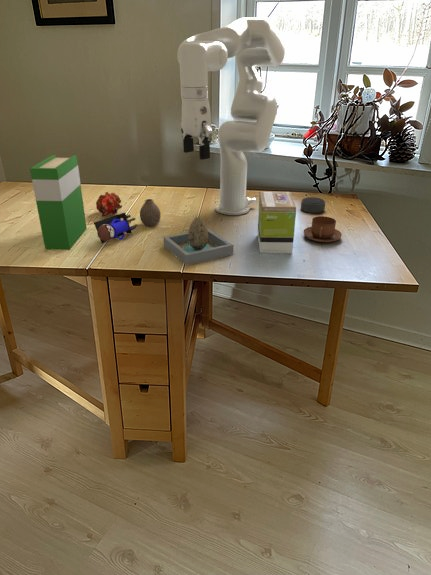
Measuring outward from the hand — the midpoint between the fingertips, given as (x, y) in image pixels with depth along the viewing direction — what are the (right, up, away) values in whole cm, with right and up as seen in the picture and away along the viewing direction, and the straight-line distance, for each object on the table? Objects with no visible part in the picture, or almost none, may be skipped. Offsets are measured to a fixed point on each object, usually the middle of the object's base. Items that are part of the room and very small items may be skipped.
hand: (196, 155), depth 131 cm
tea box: (+24, -26, +5) cm, 36 cm away
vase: (-17, -18, +19) cm, 31 cm away
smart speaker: (+42, -10, +35) cm, 56 cm away
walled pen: (0, -28, 0) cm, 28 cm away
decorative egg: (0, -28, 0) cm, 28 cm away
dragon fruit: (-33, -13, +28) cm, 45 cm away
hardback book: (-41, -24, +8) cm, 48 cm away
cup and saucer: (+40, -24, +10) cm, 48 cm away
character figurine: (-26, -24, +8) cm, 36 cm away
